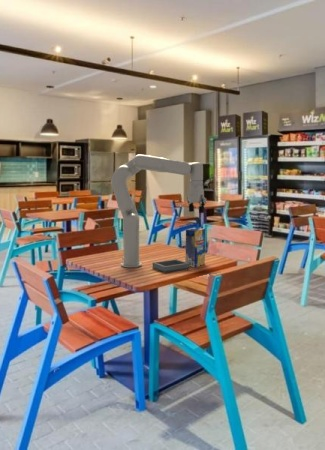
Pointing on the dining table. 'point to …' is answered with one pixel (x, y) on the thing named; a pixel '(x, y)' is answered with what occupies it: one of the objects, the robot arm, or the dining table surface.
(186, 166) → the robot arm
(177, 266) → the tray
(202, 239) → the beverage box
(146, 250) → the dining table surface
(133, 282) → the dining table surface
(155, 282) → the dining table surface
